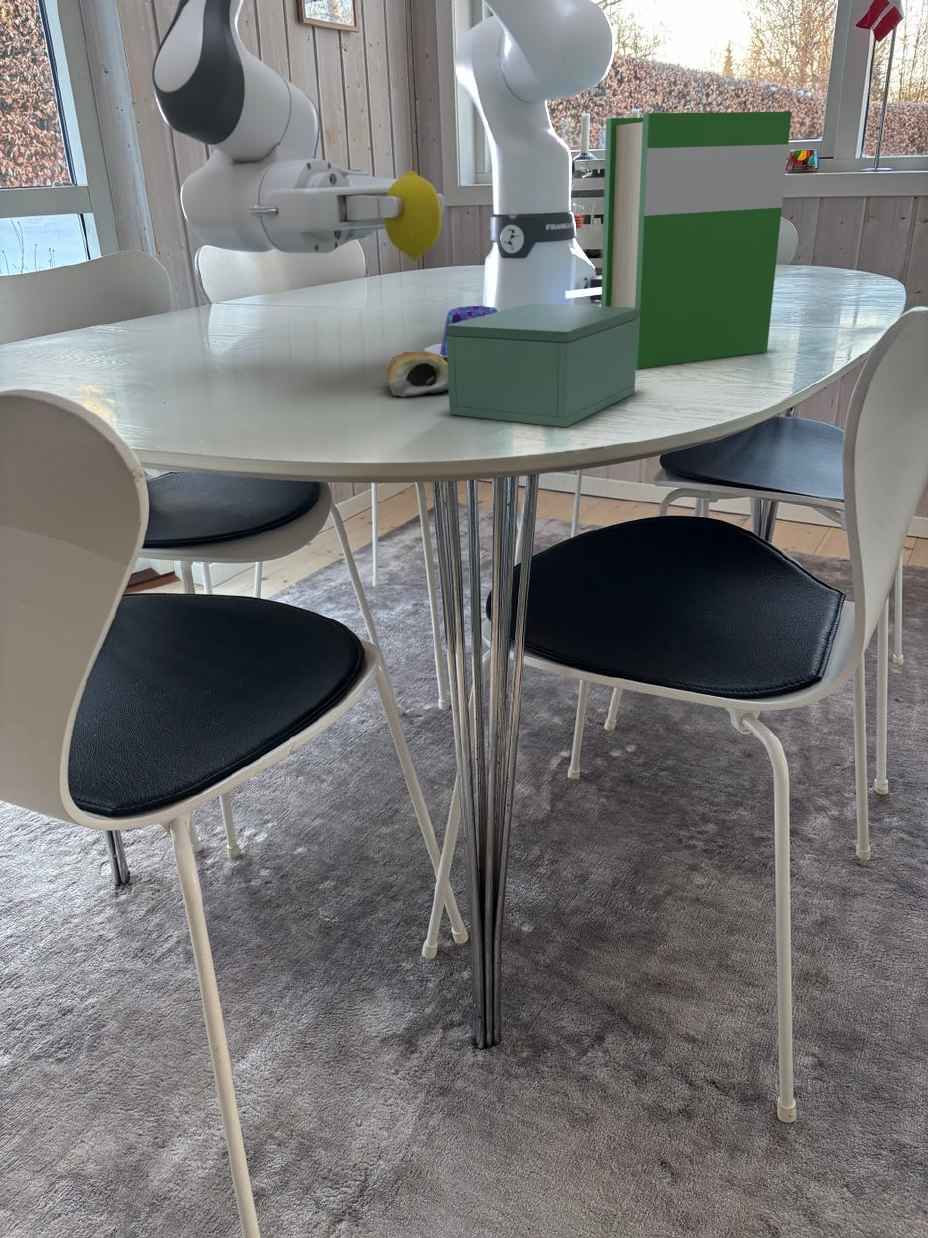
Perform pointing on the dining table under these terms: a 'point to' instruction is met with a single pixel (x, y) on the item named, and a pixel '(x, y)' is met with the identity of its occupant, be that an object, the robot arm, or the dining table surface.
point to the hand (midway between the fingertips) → (420, 205)
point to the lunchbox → (541, 376)
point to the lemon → (415, 216)
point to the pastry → (417, 374)
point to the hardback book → (694, 230)
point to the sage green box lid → (544, 322)
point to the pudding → (458, 316)
